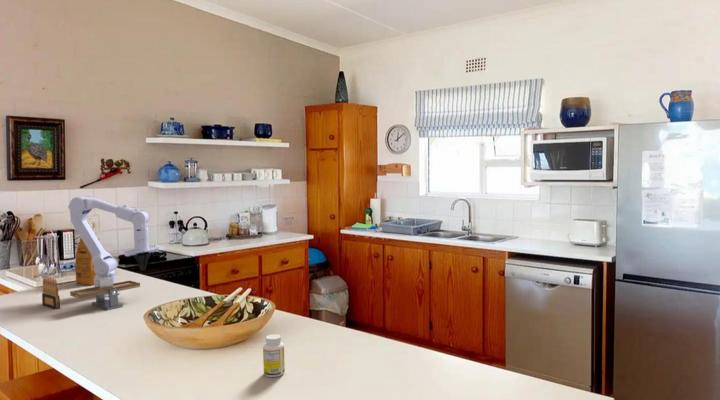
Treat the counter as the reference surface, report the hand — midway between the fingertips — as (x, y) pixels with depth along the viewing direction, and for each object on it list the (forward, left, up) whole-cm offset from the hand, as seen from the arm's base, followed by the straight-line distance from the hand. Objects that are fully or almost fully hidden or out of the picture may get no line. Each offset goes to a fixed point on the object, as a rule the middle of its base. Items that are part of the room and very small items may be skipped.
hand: (142, 270), depth 226 cm
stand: (+6, -19, -10) cm, 22 cm away
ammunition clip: (-11, -33, -11) cm, 36 cm away
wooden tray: (+6, -19, -4) cm, 20 cm away
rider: (+5, -20, -3) cm, 21 cm away
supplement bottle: (+110, -25, -11) cm, 113 cm away
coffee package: (-41, -4, -11) cm, 43 cm away
